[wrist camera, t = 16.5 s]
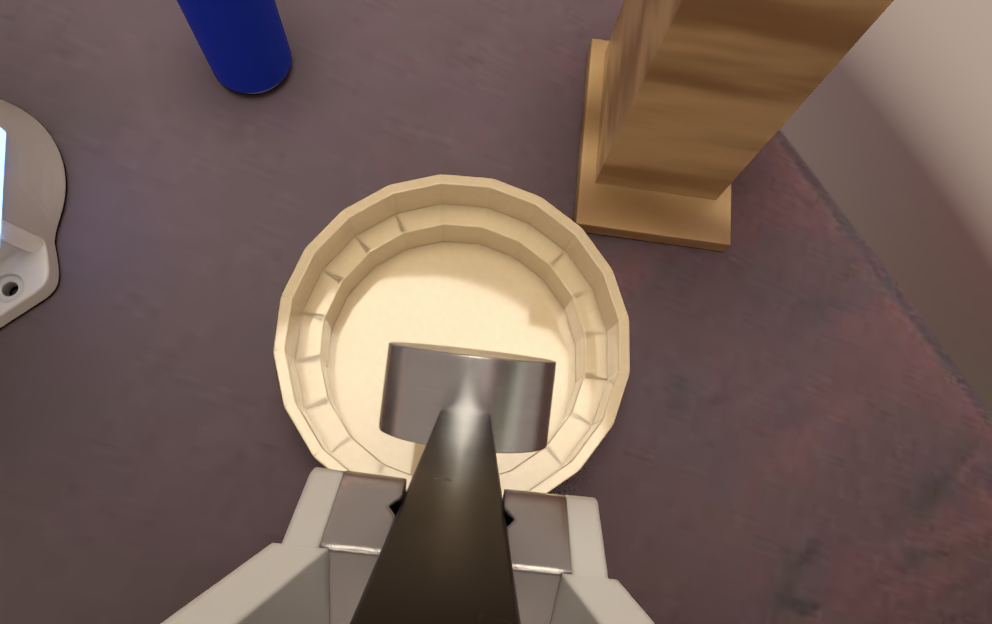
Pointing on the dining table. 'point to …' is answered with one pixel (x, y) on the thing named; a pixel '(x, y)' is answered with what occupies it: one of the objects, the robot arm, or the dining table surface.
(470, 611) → the black handled spatula
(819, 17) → the wooden column stand
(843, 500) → the dining table surface
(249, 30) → the beverage can
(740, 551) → the dining table surface
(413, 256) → the bowl
